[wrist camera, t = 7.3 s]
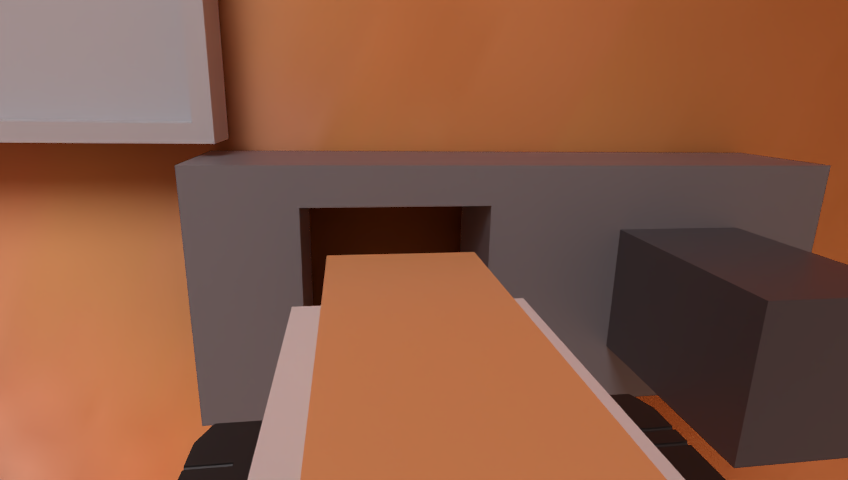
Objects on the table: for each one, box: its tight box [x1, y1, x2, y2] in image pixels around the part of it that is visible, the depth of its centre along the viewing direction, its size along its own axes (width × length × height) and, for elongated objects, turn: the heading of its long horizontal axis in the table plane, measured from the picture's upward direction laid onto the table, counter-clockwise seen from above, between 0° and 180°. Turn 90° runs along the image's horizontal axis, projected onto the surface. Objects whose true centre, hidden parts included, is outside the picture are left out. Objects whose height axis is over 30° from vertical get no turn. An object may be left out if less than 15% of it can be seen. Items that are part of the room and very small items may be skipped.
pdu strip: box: [175, 151, 848, 468], centre depth 16 cm, size 8×20×10 cm, turn 89°
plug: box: [300, 252, 667, 480], centre depth 10 cm, size 4×4×10 cm
